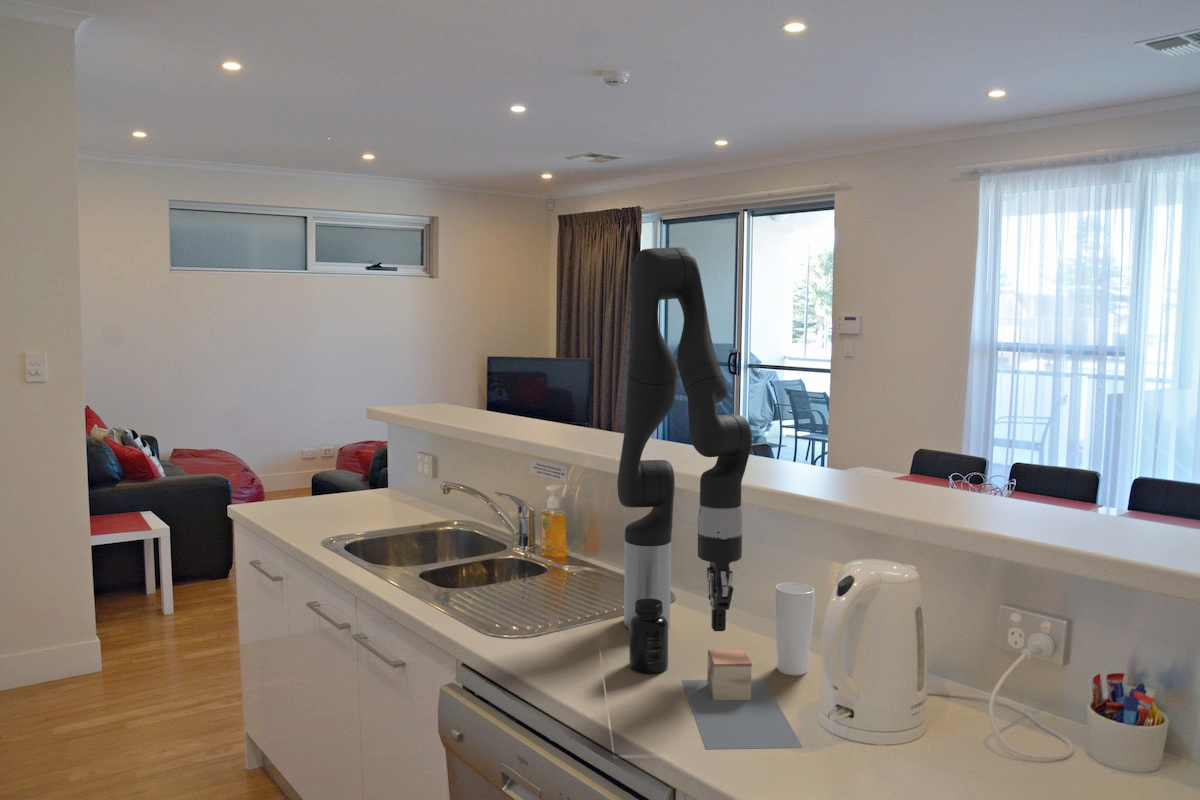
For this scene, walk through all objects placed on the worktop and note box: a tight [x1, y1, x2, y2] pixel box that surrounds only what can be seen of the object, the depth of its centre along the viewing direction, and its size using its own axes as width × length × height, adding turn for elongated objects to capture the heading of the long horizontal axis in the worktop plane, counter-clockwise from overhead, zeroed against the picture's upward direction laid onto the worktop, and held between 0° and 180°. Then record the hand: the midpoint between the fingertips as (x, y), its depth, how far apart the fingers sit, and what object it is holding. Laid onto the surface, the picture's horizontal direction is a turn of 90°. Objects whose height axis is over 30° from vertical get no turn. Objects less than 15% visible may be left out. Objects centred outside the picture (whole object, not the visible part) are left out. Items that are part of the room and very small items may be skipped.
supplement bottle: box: [628, 598, 669, 675], centre depth 155 cm, size 7×7×12 cm
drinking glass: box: [773, 581, 815, 676], centre depth 154 cm, size 7×7×15 cm
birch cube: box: [706, 649, 752, 700], centre depth 145 cm, size 6×6×6 cm
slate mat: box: [681, 678, 804, 750], centre depth 138 cm, size 24×14×1 cm, turn 3°
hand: (718, 629), depth 153 cm, fingers closed
